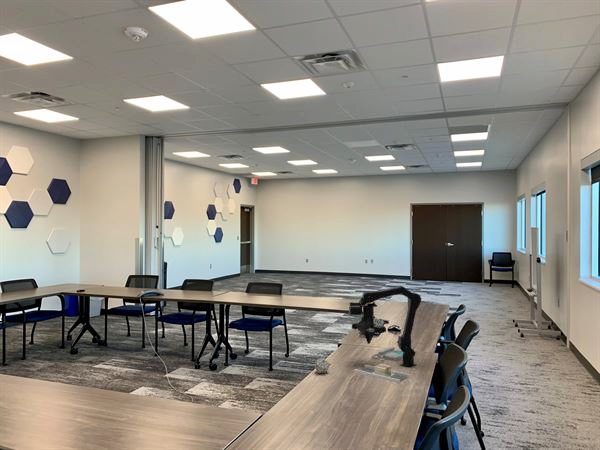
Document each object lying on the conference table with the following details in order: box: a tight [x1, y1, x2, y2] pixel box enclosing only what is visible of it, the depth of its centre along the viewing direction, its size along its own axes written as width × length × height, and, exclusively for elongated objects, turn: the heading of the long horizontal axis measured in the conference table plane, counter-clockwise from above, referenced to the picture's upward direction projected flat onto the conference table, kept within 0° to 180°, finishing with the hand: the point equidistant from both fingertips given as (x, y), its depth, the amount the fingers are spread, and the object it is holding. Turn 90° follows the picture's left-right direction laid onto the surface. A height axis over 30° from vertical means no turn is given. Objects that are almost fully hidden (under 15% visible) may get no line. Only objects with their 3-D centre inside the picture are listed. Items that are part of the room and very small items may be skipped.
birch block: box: [374, 363, 392, 377], centre depth 217 cm, size 6×6×4 cm
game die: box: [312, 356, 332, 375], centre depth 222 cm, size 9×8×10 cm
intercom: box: [371, 346, 403, 363], centre depth 247 cm, size 13×4×25 cm
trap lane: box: [353, 364, 411, 384], centre depth 218 cm, size 11×26×2 cm, turn 48°
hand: (368, 343), depth 234 cm, fingers closed
